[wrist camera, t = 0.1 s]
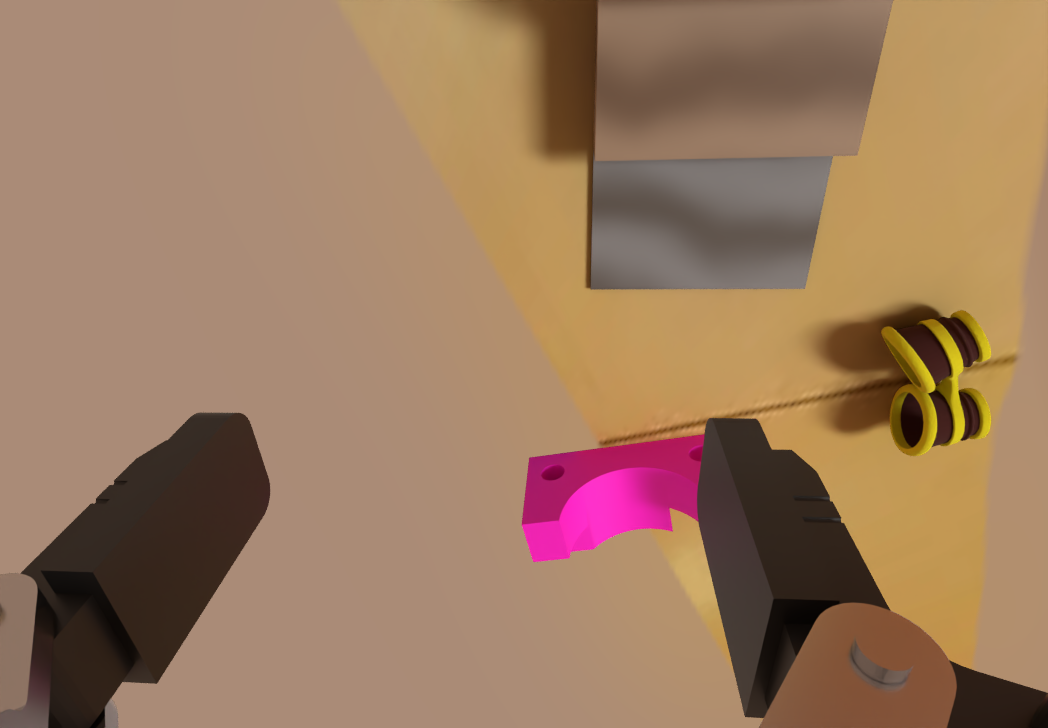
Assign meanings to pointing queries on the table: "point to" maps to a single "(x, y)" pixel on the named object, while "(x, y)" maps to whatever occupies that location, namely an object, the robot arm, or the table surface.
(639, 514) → the magenta clamp bracket
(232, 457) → the robot arm
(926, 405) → the opera glasses
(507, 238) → the table surface
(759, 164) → the stair block
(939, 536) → the table surface
